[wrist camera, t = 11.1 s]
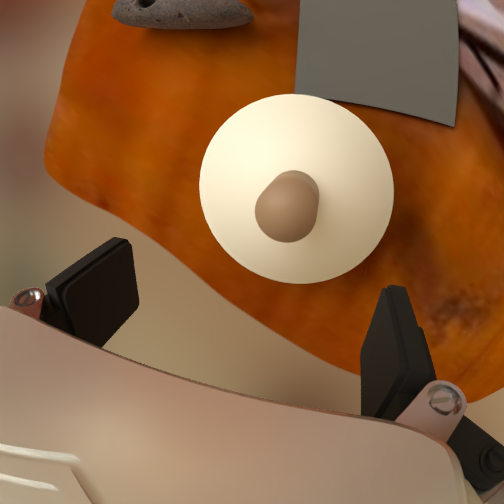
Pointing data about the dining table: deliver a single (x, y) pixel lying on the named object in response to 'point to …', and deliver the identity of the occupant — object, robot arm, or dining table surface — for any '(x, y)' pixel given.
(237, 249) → the lid
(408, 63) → the mat
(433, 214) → the dining table surface
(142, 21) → the perforated stone tool
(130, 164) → the dining table surface
